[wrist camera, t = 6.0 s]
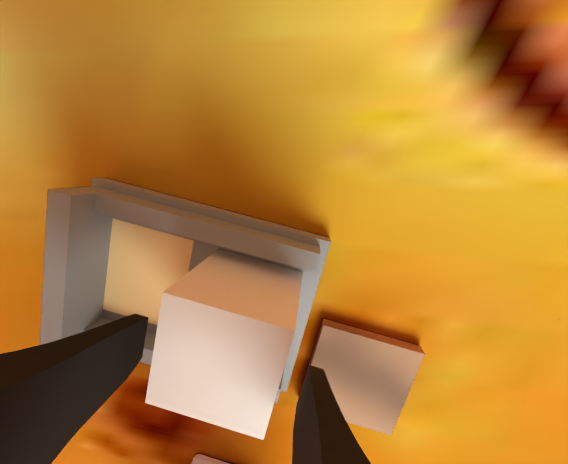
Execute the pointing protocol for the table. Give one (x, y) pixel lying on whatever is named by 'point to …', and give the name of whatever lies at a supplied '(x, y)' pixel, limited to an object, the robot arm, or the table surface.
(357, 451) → the robot arm
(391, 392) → the stand
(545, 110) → the table surface
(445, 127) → the table surface
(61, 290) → the tray
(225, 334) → the block
